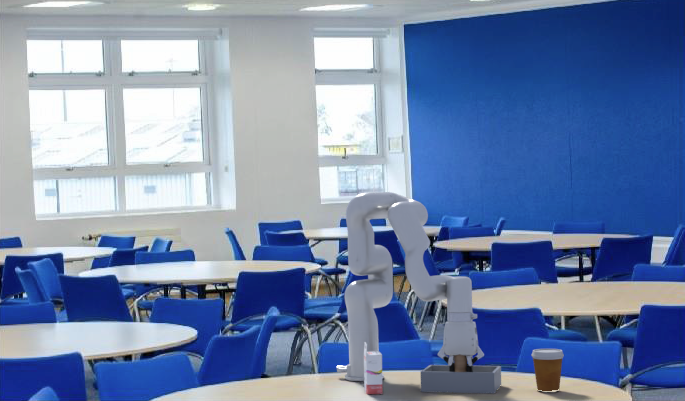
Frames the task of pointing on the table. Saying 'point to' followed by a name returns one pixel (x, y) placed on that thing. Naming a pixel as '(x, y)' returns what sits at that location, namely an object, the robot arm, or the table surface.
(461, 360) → the peg
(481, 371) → the box
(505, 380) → the table surface
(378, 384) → the ink cartridge box
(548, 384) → the disposable coffee cup
